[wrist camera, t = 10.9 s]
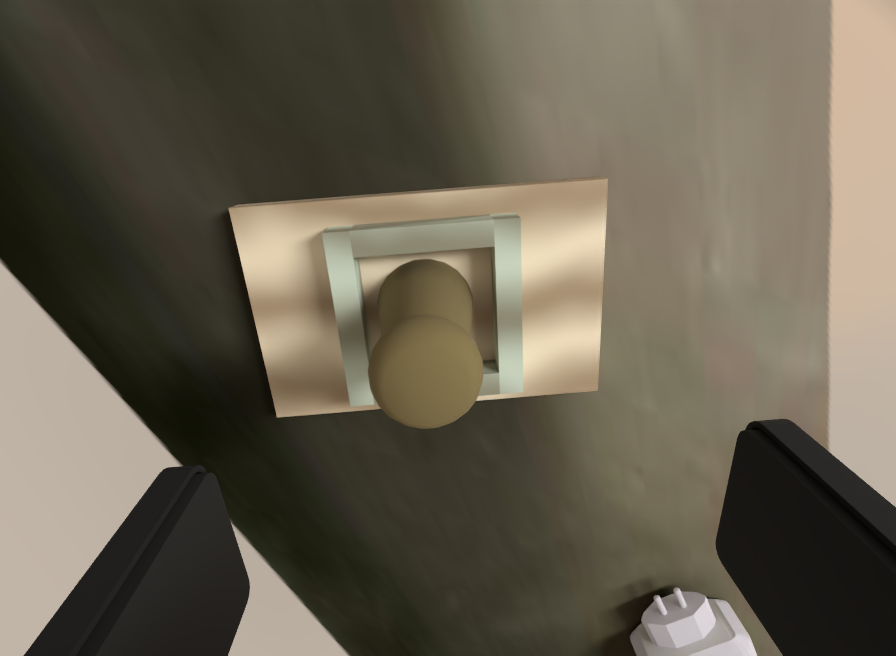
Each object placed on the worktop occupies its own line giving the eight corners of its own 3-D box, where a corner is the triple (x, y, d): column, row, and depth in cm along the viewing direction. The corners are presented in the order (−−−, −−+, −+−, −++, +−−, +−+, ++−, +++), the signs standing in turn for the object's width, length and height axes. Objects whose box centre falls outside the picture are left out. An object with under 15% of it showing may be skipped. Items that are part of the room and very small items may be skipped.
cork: (441, 239, 29) (451, 296, 19) (490, 320, 31) (522, 410, 21) (358, 290, 30) (324, 370, 20) (410, 365, 32) (404, 472, 22)
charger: (704, 548, 42) (746, 652, 47) (603, 587, 43) (655, 684, 48) (737, 597, 37) (779, 706, 42) (623, 639, 39) (678, 740, 44)
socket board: (237, 204, 29) (214, 213, 26) (599, 176, 30) (620, 181, 26) (283, 406, 35) (268, 434, 31) (590, 380, 35) (607, 405, 32)
